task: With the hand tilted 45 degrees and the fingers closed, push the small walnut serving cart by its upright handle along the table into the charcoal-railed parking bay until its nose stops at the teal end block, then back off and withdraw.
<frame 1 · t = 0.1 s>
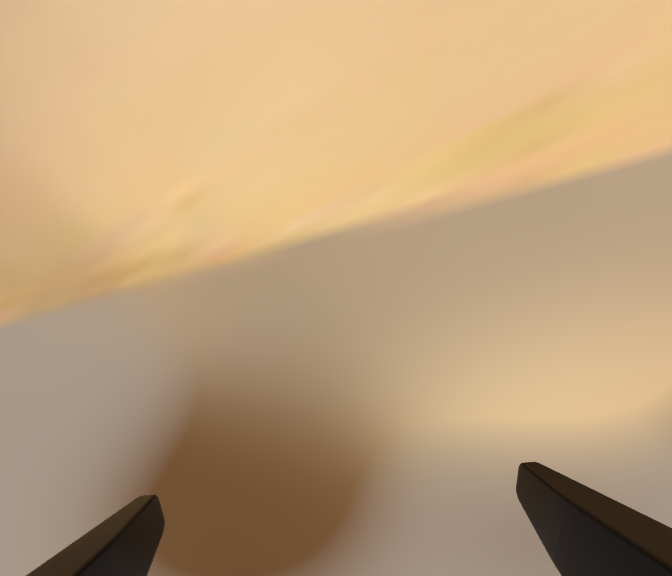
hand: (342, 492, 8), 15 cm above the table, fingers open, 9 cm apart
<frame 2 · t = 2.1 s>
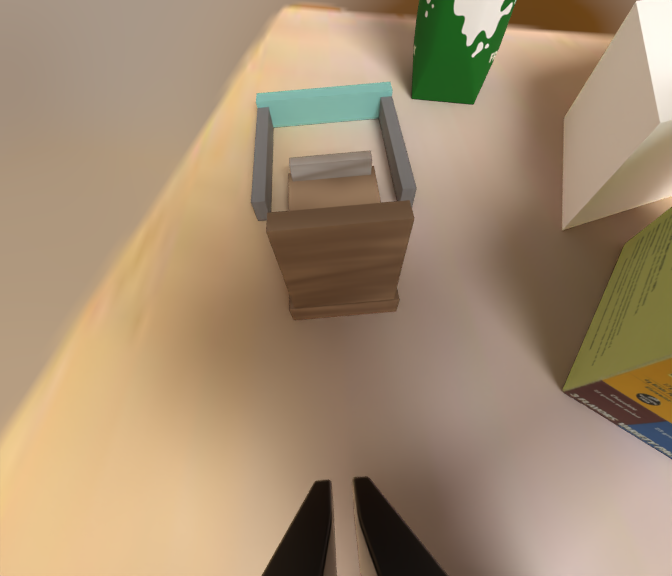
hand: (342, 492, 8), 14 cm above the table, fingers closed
white block: (630, 150, 33), on the table
bay: (331, 176, 32), on the table
protein box: (669, 350, 23), on the table
milk carton: (444, 86, 39), on the table
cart: (337, 244, 28), on the table
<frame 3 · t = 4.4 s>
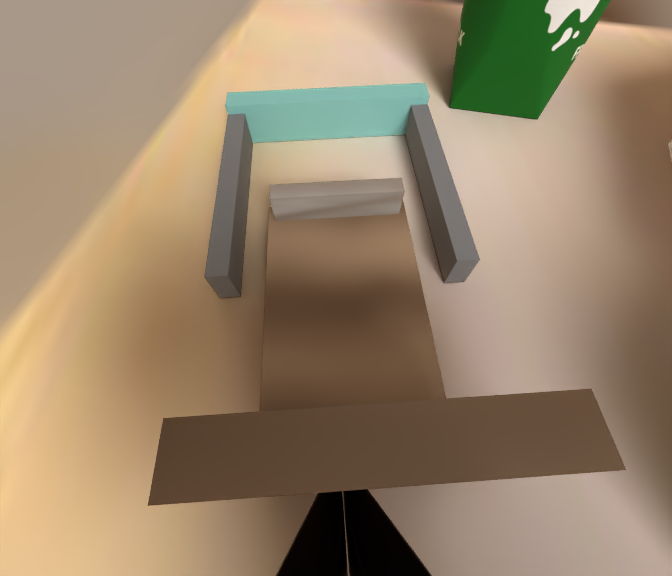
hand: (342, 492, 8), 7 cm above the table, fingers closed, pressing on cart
bay: (337, 223, 21), on the table
milk carton: (492, 92, 28), on the table
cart: (344, 326, 18), on the table, touching gripper
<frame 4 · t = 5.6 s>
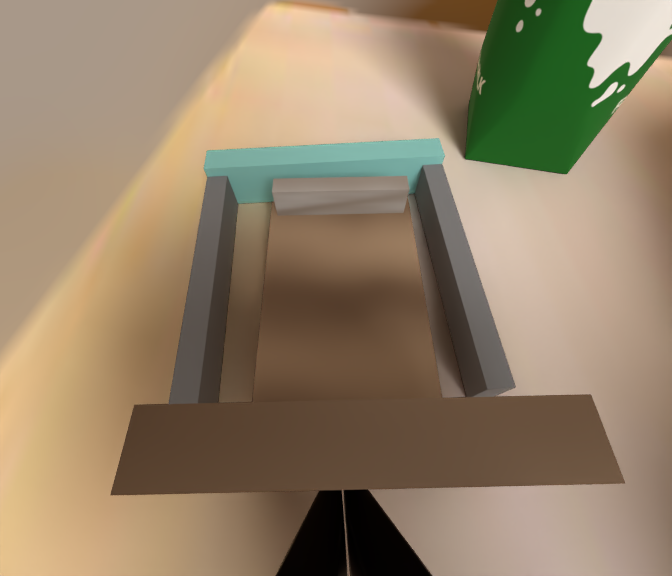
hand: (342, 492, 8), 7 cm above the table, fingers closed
bay: (335, 312, 18), on the table
milk carton: (513, 139, 25), on the table
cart: (343, 324, 17), on the table, touching gripper
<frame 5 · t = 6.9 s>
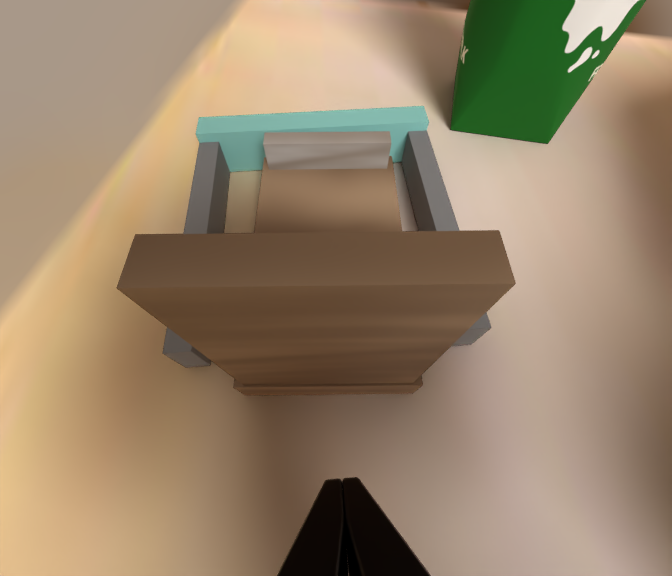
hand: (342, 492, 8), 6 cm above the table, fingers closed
bay: (324, 270, 18), on the table
milk carton: (497, 112, 26), on the table
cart: (329, 270, 19), on the table
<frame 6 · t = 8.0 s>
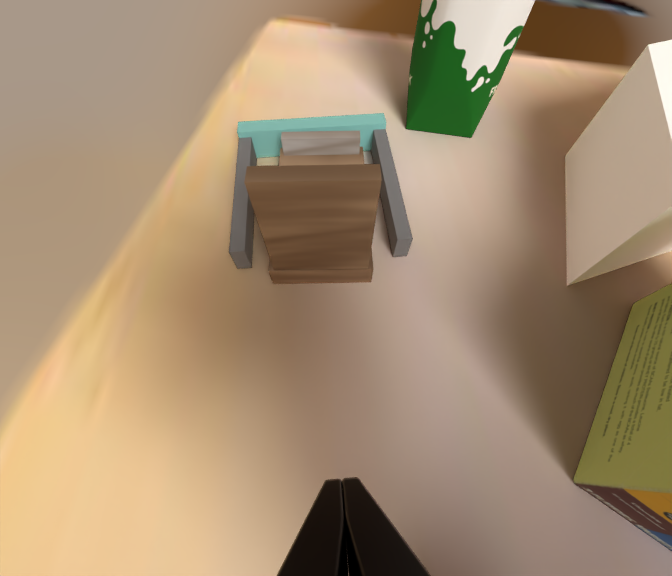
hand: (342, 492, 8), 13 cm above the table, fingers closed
white block: (633, 194, 31), on the table
bay: (319, 216, 29), on the table
milk carton: (440, 116, 37), on the table
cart: (322, 218, 30), on the table
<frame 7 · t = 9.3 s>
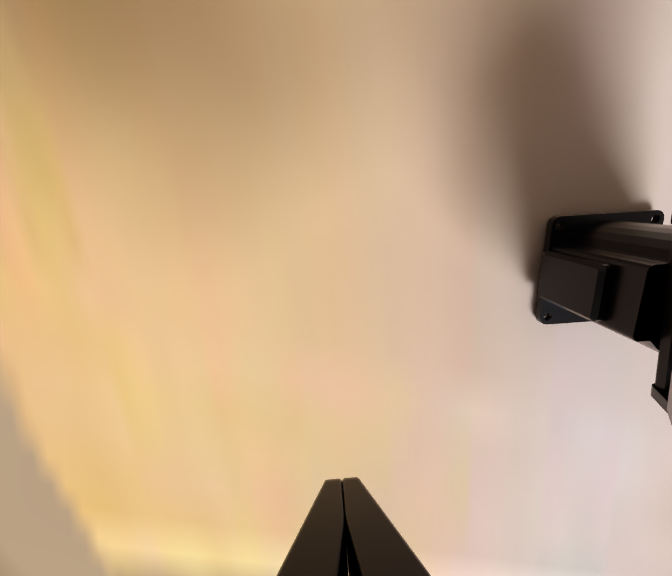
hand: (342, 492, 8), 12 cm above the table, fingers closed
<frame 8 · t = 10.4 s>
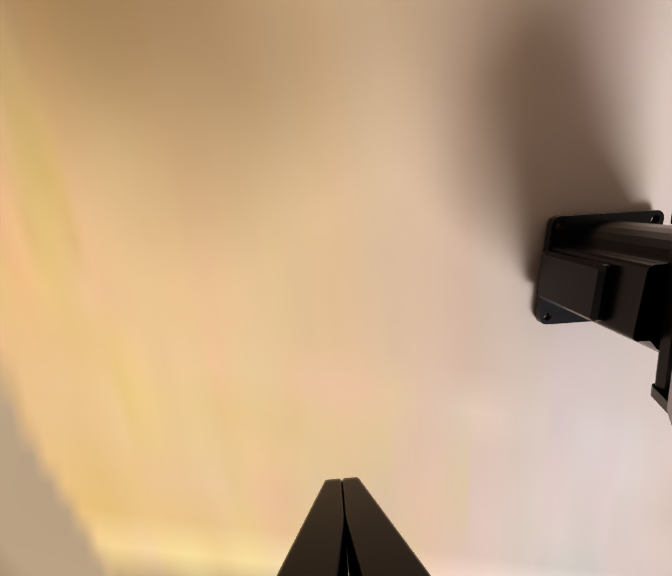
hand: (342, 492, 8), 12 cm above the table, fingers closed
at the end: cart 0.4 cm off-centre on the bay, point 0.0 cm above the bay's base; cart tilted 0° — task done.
